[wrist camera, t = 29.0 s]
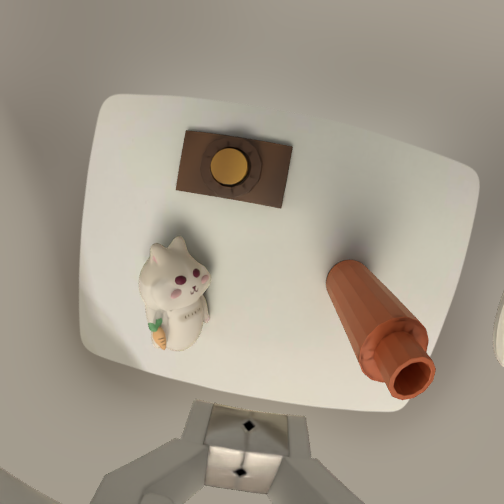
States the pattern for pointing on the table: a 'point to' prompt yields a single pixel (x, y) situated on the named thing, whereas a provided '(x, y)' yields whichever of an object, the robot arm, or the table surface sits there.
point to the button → (229, 166)
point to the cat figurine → (174, 295)
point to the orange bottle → (381, 330)
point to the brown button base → (258, 176)
